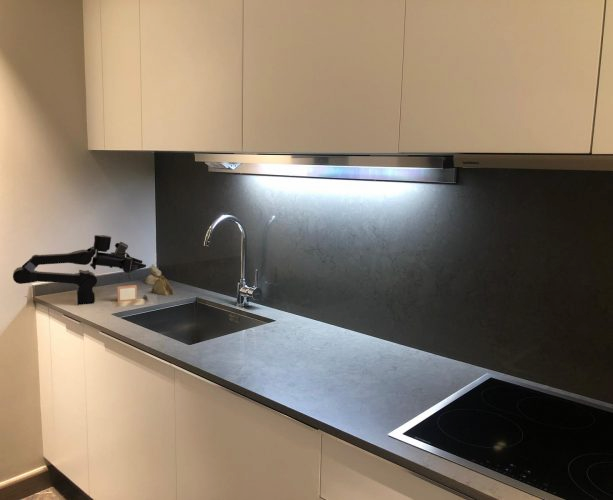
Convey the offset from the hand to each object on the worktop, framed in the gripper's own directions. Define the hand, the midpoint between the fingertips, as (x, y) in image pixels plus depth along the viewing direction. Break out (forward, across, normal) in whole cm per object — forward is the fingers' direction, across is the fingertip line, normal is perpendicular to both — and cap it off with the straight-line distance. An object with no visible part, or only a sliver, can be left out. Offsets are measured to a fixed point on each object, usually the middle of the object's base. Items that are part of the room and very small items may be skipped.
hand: (144, 263), depth 248 cm
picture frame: (-5, -4, +16) cm, 18 cm away
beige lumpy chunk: (+12, +29, +15) cm, 35 cm away
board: (-4, -8, +17) cm, 19 cm away
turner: (+3, -7, +15) cm, 17 cm away
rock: (+12, +4, +14) cm, 19 cm away
